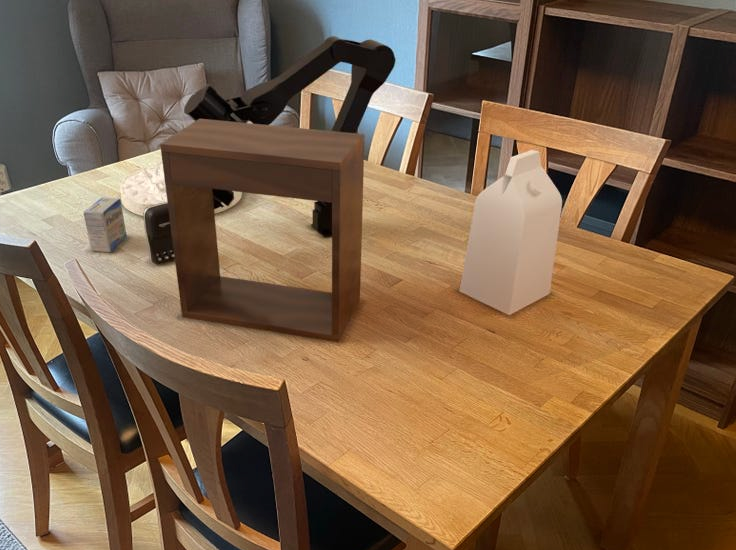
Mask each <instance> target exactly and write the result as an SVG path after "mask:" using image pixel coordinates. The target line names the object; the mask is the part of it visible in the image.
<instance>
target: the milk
mask: <svg viewBox="0 0 736 550" xmlns="http://www.w3.org/2000/svg"><path fill="white" fill-rule="evenodd" d="M562 207H563V199H562V195H561V193H560V191H559V189H558V188H557V187H556V185H555V184H554V182H553V180H552V179H551V178H550V176H549V175H548V174H547V172H546V170H545V169H544V168H543V167H542V160H541V154H540V151H538V150H535V149H531V150H527V151H524V152H522V153H519V154H516V155H513V156H511V157H510V159H509V161H508V164H507V168H506V171H505V174H504V175H503V176H502V177H500V178H498V179H497V180H496V181H494V182H493V183H491V184H490V185H489V186H487V187H485V188H484V189H483V190H482V191H481V192H480V193H479V194H478V195H477V197H476V198H475V203H474V207H473V213H472V217H471V223H470V228H469V236H468V239H467V246H466V252H465V257H464V262H463V267H462V268H463V269H462V272H461V280H460V284H459V290H458V291H459V293H462V294H464V295H466V296H468V297H470V298H472V299H474V300H477V301H478V302H480V303H483V304H485V305H487V306H488V307H491V308H493V309H495V310H497V311H499V312H501V313H503V314H505V315H507V316H511V315H512V314H515V313H516V312H518V311H520V310H522V309H524V308H525V307H528V306H529V305H532V304H533V303H535V302H537V301H539V300H541V299H542V298H544V297H546V296H549V295H550V293H551V286H552V279H553V271H554V265H555V258H556V251H557V242H558V237H559V231H560V229H559V228H560V221H561V215H562Z"/></svg>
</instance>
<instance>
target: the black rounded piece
mask: <svg viewBox="0 0 736 550" xmlns="http://www.w3.org/2000/svg"><path fill="white" fill-rule="evenodd" d="M142 221H143V226H144V227H143V228H144V232H145V237H146V243H147V247H148V255H149V261H150V262H151V263H153V264H155V265H163V264H167V263H171V262H175V257H174V249H173V241H172V233H171V225H170V217H169V210H168V202H164V203H159V204H155V205H152V206H149V207H147V208H145V210H144V212H143V216H142Z"/></svg>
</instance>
